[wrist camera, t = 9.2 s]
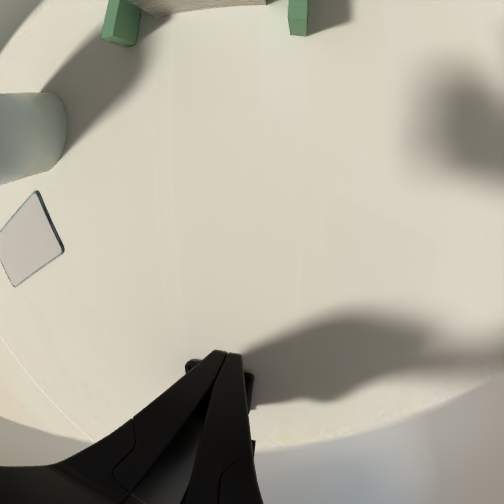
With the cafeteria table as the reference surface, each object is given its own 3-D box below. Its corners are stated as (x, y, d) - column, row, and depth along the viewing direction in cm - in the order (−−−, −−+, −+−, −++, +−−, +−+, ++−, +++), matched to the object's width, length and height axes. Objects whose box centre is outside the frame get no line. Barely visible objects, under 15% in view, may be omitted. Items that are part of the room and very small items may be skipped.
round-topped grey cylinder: (67, 170, 20) (-15, 197, 12) (22, 173, 21) (-47, 197, 13) (69, 85, 17) (-15, 84, 9) (22, 101, 18) (-49, 109, 10)
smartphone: (65, 251, 23) (14, 288, 28) (68, 249, 24) (16, 286, 28) (36, 188, 21) (-9, 242, 26) (40, 187, 22) (-6, 240, 26)
